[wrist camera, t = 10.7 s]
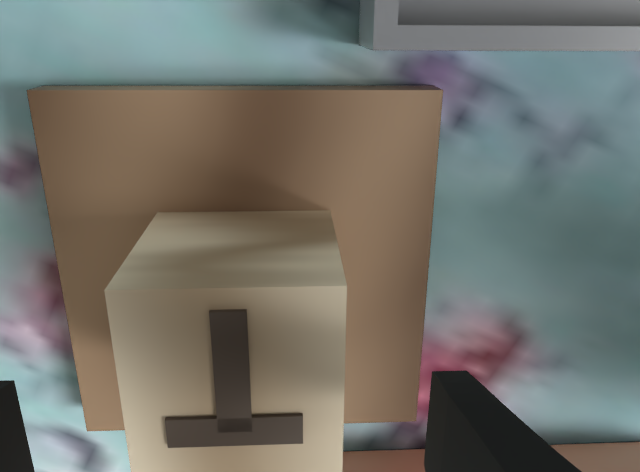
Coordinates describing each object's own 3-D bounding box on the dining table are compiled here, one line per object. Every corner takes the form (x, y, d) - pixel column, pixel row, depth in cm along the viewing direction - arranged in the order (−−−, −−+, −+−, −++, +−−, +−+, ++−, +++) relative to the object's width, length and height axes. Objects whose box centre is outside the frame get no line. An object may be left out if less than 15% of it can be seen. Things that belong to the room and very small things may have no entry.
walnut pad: (433, 85, 15) (443, 89, 14) (409, 400, 18) (415, 421, 17) (43, 85, 14) (26, 90, 13) (97, 409, 18) (87, 431, 17)
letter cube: (330, 210, 15) (347, 288, 11) (328, 356, 16) (342, 476, 12) (157, 212, 15) (102, 292, 10) (172, 360, 16) (130, 483, 12)
